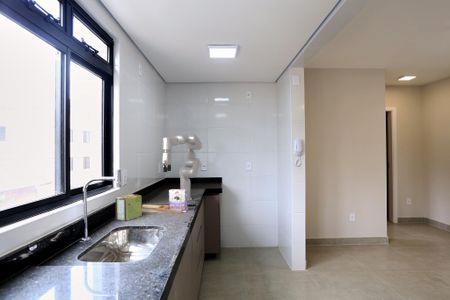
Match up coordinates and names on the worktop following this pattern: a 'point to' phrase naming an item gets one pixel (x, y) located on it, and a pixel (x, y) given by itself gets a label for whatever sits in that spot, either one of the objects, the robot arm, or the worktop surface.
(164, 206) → the frame
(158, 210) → the rail lane
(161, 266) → the worktop surface
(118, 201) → the protein box
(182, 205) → the candy box
